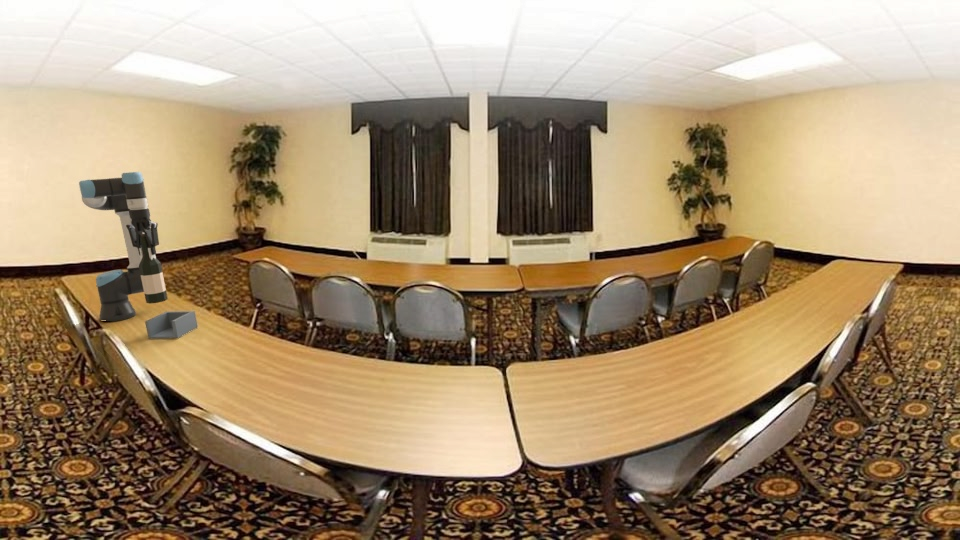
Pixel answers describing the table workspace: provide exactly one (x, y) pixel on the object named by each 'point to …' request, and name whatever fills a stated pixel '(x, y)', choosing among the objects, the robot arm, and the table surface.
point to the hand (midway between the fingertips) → (149, 262)
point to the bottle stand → (171, 324)
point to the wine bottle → (151, 276)
